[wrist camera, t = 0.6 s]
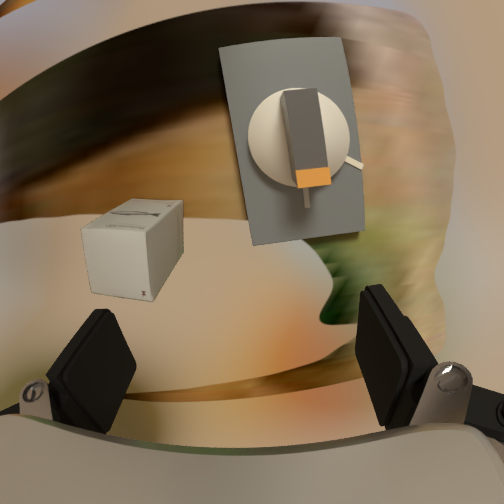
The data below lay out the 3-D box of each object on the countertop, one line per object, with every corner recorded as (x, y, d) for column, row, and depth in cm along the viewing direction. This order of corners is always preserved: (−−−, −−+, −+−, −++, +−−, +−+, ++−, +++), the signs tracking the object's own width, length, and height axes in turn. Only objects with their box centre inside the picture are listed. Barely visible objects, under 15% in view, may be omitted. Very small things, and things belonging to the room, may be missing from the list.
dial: (240, 96, 28) (236, 86, 21) (339, 86, 27) (357, 76, 21) (256, 191, 32) (256, 205, 26) (351, 180, 31) (371, 190, 25)
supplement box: (184, 198, 34) (148, 231, 23) (184, 253, 37) (154, 305, 26) (131, 196, 34) (78, 226, 23) (134, 248, 37) (90, 295, 26)
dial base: (220, 52, 27) (218, 47, 25) (338, 42, 26) (343, 36, 24) (253, 240, 36) (252, 246, 34) (361, 225, 35) (367, 230, 33)
